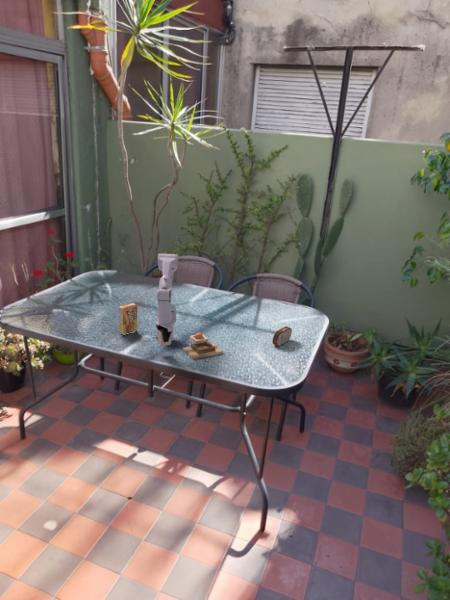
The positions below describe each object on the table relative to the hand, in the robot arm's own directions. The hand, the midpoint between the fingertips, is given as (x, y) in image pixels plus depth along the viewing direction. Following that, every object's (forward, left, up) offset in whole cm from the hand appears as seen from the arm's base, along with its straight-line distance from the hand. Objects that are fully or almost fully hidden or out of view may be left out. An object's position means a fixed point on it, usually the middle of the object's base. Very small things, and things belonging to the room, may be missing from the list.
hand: (164, 339), depth 214 cm
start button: (-4, +21, -6) cm, 22 cm away
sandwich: (+15, +60, -8) cm, 62 cm away
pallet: (+6, +18, -7) cm, 20 cm away
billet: (0, 0, -2) cm, 2 cm away
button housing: (-4, +21, -7) cm, 23 cm away
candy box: (-30, -7, -7) cm, 32 cm away
